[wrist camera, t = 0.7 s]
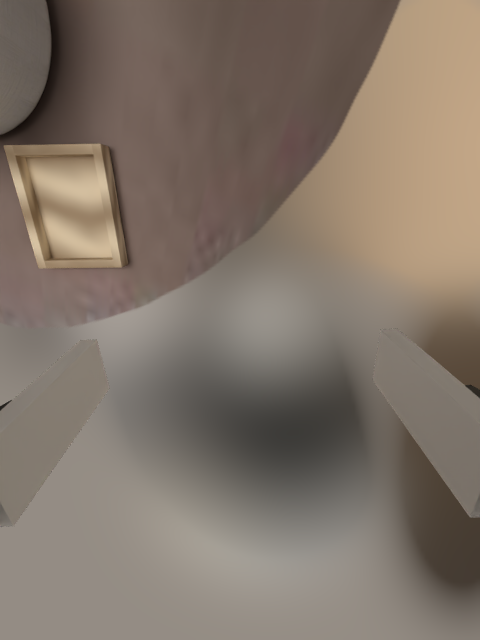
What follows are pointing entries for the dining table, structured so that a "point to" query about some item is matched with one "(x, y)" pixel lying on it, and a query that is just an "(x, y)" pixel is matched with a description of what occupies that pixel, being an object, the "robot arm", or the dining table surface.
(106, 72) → the dining table surface
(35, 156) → the tray
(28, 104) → the planter
